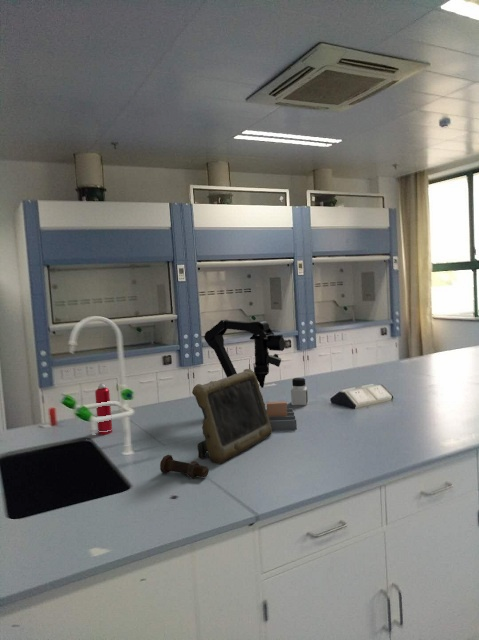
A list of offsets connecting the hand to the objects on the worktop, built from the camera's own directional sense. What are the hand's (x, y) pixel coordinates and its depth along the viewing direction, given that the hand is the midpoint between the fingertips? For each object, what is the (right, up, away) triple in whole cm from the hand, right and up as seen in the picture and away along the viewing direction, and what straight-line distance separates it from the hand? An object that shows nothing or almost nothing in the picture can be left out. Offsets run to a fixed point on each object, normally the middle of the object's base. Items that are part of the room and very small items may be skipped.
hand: (262, 385), depth 195 cm
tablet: (-11, -16, -38) cm, 43 cm away
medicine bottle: (+18, -11, +15) cm, 26 cm away
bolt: (-26, -19, -60) cm, 68 cm away
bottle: (-65, -17, -14) cm, 68 cm away
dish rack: (+5, -13, -14) cm, 20 cm away
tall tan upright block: (+5, -13, -14) cm, 20 cm away
